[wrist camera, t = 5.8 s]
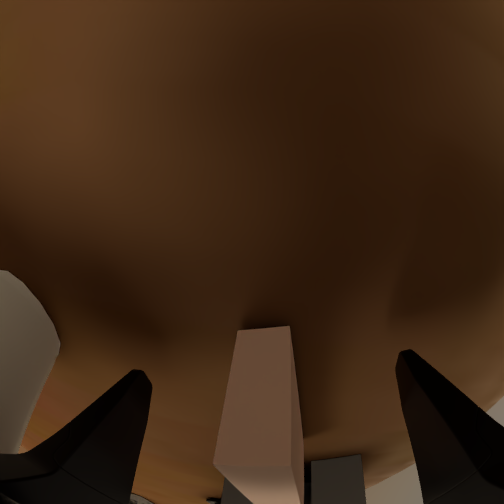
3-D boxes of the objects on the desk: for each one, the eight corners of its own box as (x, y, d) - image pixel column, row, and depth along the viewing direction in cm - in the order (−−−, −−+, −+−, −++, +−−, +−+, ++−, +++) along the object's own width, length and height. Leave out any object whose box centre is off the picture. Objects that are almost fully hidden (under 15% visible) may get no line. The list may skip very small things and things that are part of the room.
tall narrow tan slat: (303, 443, 13) (303, 515, 9) (273, 445, 14) (269, 516, 9) (289, 325, 9) (290, 465, 5) (237, 330, 9) (212, 464, 5)
